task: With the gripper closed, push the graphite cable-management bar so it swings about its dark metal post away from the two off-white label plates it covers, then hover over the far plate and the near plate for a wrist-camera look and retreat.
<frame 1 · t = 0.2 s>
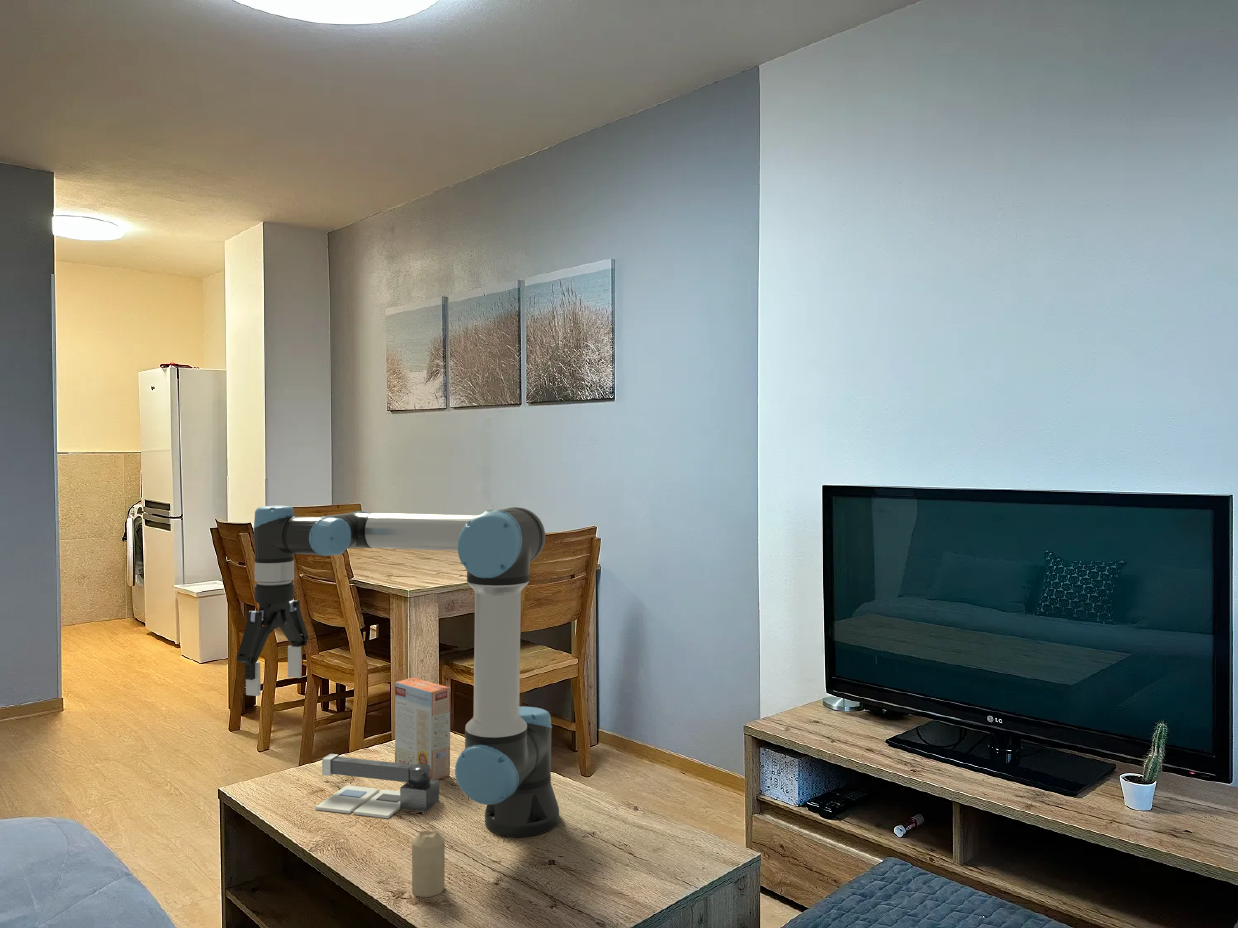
hand: (274, 685, 179), 28 cm above the table, fingers open, 13 cm apart
cracker box: (422, 772, 206), on the table
pivot post: (419, 804, 187), on the table
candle: (428, 890, 152), on the table
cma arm: (377, 769, 190), point 7 cm above the table, hinge at 0.0°
label plate A: (385, 804, 187), on the table
label plate B: (347, 800, 189), on the table
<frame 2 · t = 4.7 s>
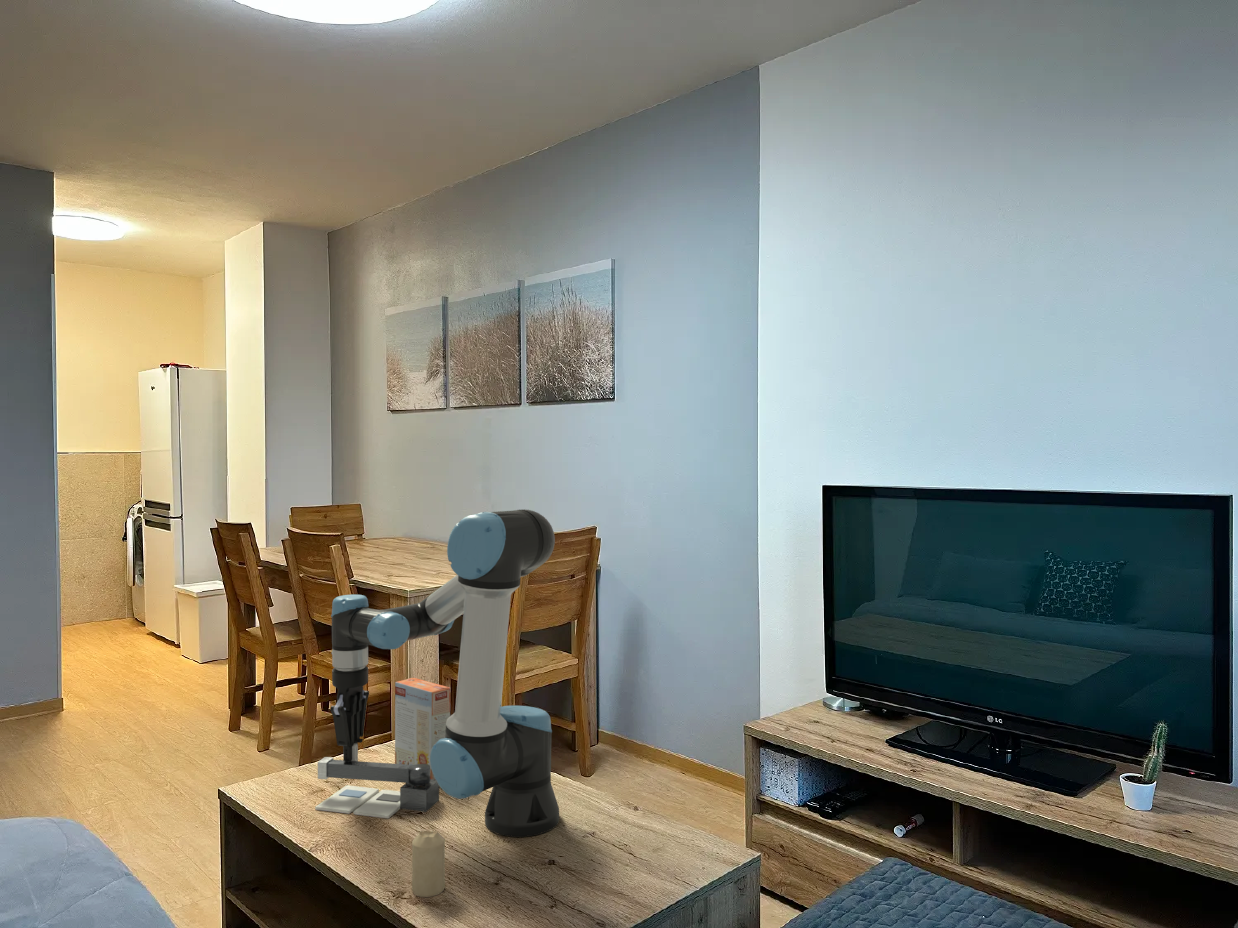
hand: (350, 773, 192), 5 cm above the table, fingers closed
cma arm: (374, 771, 189), point 6 cm above the table, hinge at 5.4°, touching gripper
everything else where it was.
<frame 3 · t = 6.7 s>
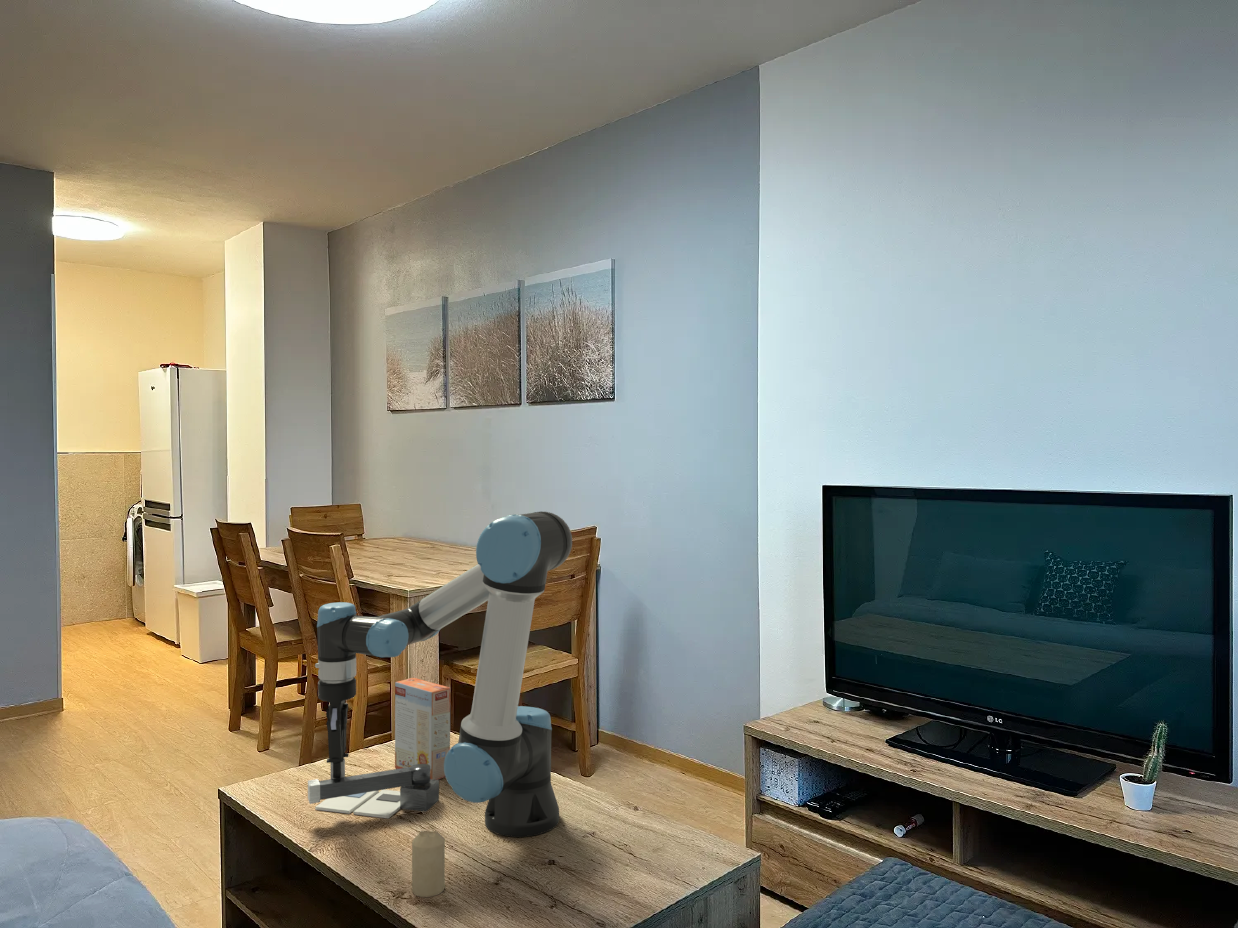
hand: (337, 790, 182), 5 cm above the table, fingers closed
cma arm: (371, 782, 183), point 6 cm above the table, hinge at 40.1°, touching gripper
everything else where it was.
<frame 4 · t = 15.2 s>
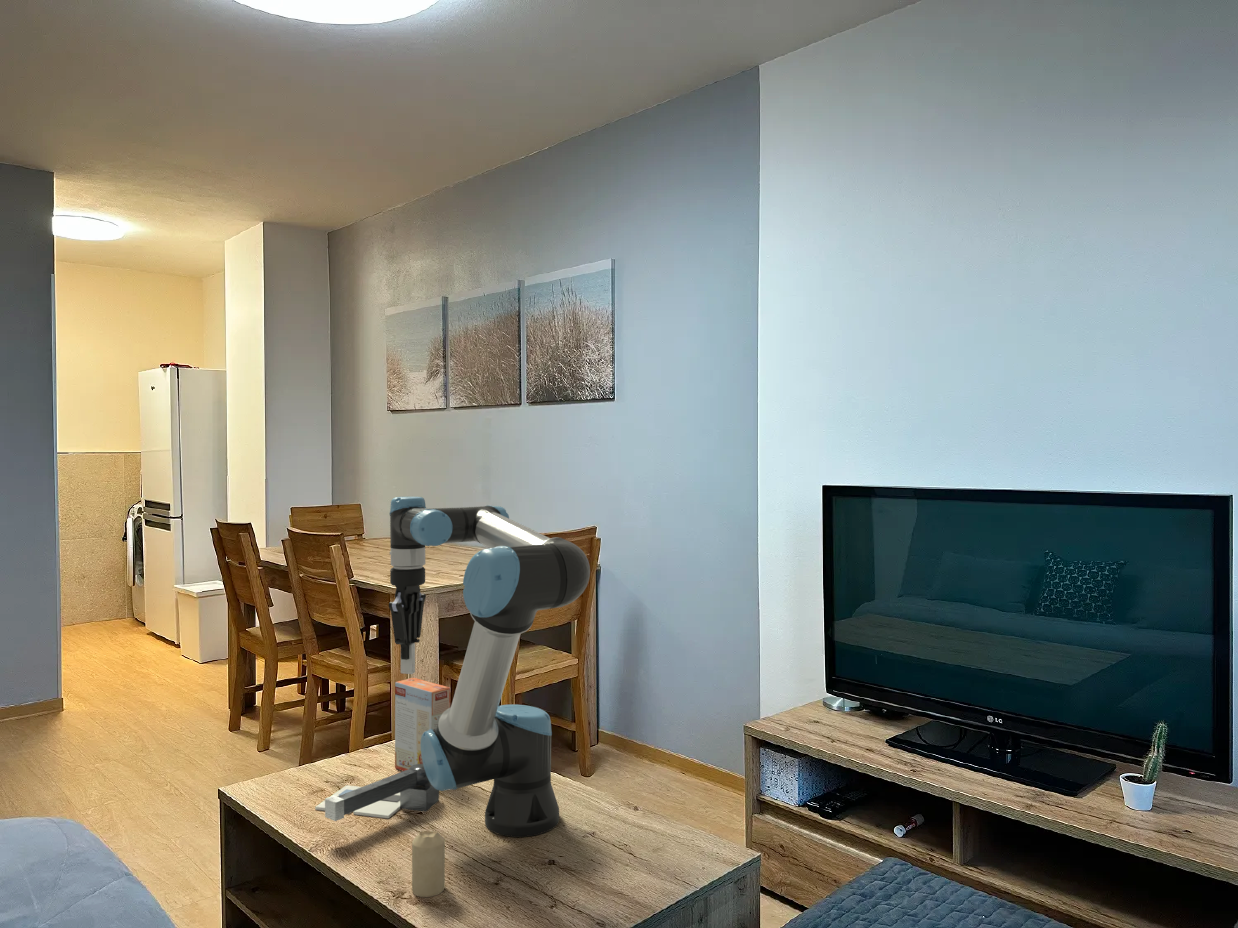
hand: (407, 672, 194), 26 cm above the table, fingers closed
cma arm: (381, 789, 179), point 6 cm above the table, hinge at 68.6°
everything else where it was.
at the end: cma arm at +69° (first picture: +0°) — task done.
